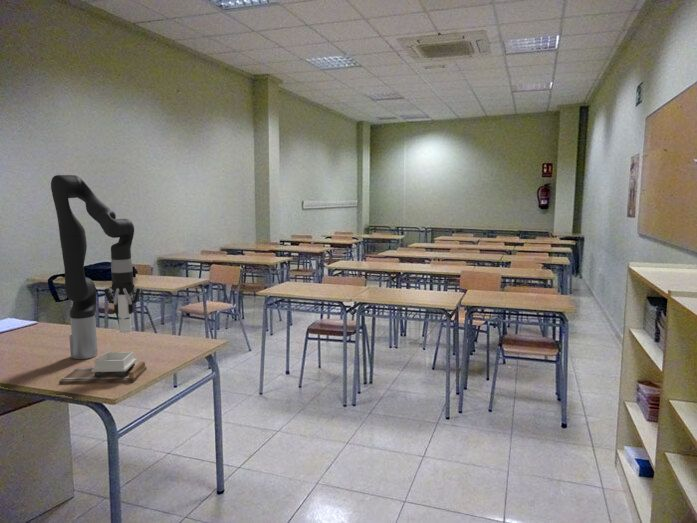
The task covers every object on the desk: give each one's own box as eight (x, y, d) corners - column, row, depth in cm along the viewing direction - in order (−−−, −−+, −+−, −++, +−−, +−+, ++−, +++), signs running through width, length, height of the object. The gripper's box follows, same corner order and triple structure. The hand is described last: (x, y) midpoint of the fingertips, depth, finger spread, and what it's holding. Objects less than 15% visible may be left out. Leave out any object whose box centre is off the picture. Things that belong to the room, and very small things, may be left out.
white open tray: (91, 378, 180) (90, 361, 179) (105, 367, 192) (104, 351, 191) (125, 377, 181) (125, 361, 180) (137, 366, 193) (136, 351, 192)
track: (59, 384, 178) (58, 374, 178) (77, 370, 192) (77, 362, 192) (133, 382, 180) (133, 373, 180) (146, 369, 194) (146, 360, 194)
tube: (121, 330, 198) (119, 293, 196) (133, 329, 199) (130, 292, 197) (117, 332, 194) (115, 295, 192) (129, 332, 194) (127, 295, 192)
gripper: (98, 272, 189) (101, 316, 191) (137, 271, 190) (139, 315, 192) (106, 269, 196) (109, 311, 199) (144, 268, 197) (146, 311, 200)
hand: (124, 313), depth 195 cm, fingers closed on tube, 4 cm apart
